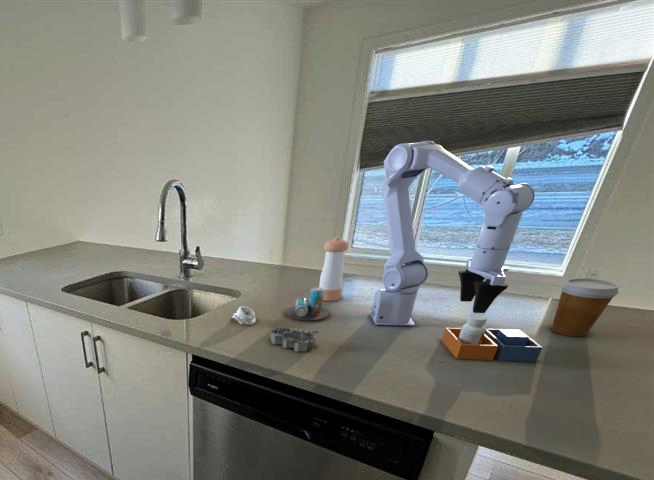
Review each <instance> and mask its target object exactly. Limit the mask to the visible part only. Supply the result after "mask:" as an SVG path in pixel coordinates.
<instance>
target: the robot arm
mask: <svg viewBox="0 0 654 480" xmlns="http://www.w3.org/2000/svg"><path fill="white" fill-rule="evenodd" d="M383 168H384V177H383V182H382V186H381V187H382V196H383V197H382V198H383V206H384V212H385V213H384V214H385V220H386V221H385V222H386V228H387V236H388V243H389V244H388V245H389V252H390V256H389V258H388V259H387V260H386V262H385V263H384V265H383V269H384V272H383V275H382V284H383V286H384V288H382V289H377V290H376V292H375V295H374V299H373V304H372V307H371V308H372V309H371V313H370V317H371V319H372V321H373V322H374V324H375V325H376V326H402V327H403V326H406V327H407V326H408V327H415V322H414V321H413V319H412V318H411V317H412V314H413V311H414V307H415V303H416V299H417V295H418V291H419V290H420V288H421V285H423V284H424V283H425V282H427V279H428V278H429V274H430V273H429V272H430V271H429V268H428V266H427V265H426V263H425V261H424V256H423V255H422V254H421V253H419V251H417V249H416V242H415V233H414V226H413V217H412V216H413V215H412V209H411V199H410V191H409V188H410V187H411V185H412V184H413V183H414V181H415V180H416V179H417V178H419V176H421V175H422V174H423V173H424V172H425V171H426V170H428V169H430V170H432V171H434V172H436V173H438V174H440V175H442V176H444V177H446V178H448V179H450V180H452V181H453V182H456V184H457V183H458V191H459V193H461V194H462V195H464V196H466V197H467V198H468V199H470V200H472V201H473V202H475V203H476V204H479V205H480V206H481V207H482V210H483V213H484V220H483V225H482V228H481V231H480V233H479V237H478V239H477V244H476V246H475V249H474V251H473V255H472V258H468V259H467V260H466V264H465V268H466V269H460V270H458V276H459V281H460V295H459V296H460V297H459V299H460V300H459V301H460V302H461V303H462V302H463V303H464V302H465V303H467V302H469V303H471V302H473V306H472V313H473V314H485V313H487V311H488V309H489V308H490V306H491V305H492V304H493V302H495V300H496V299H497V298H498V296H500V294H502V293H503V292H504V291H506V290H507V289H508V287H509V284H508V283H506V278H507V276H506V275H505V274H504V272H508V271H509V267H508V266H506V265H505V262H506V259H507V257H508V254H509V251H510V249H511V246H512V244H513V240H514V238H515V236H516V233H517V230H518V227H519V223H520V220H521V219H522V216H523V214H524V212H525V211H527V210H528V209H529V208H530V207H531V206H532V204H533V202H534V201H535V191H534V189H533V188H532V187H531V186H530V184H529V183H527V182H520V183H515V184H514V181H515V180H514V179H513V178H511V177H507V178H506V177H504V176H502V175H501V174H498V173H497V172H495V171H494V170H495V167H494V166H492V165H486V166H484V165H479V166H476V167H474V168H473V167H471V166H470V165H468V163H466V162H464V161H462V159H460V158H458V157H456V156H455V155H454V154H452V153H451V152H449V151H447V150H446V149H445V148H444V147H443V146H442V145H440V144H438V143H435V142H434V141H432V140H423V141H420V142H419V141H418V142H411V143H399V144H396V145H395V146H394V147H392V149H391V150H390V151H389V153H388V154H387V156H386V157H385V159H384V160H383ZM473 300H474V301H473Z"/></svg>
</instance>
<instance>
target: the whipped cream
mask: <svg viewBox="0 0 654 480" xmlns="http://www.w3.org/2000/svg"><path fill="white" fill-rule="evenodd" d="M233 321H237V322H238V323H239V324H240V325H243V324H245V325H247V326H251V325H254V324H255V323H256V314H255V312H254V310H253V309H252V308H250V307H248V306H245V305H243V306H239V307H238V309H237V310H236V312H234V313H233V315H232V317H231V319H230V322H233Z"/></svg>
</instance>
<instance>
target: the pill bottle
mask: <svg viewBox="0 0 654 480" xmlns="http://www.w3.org/2000/svg"><path fill="white" fill-rule="evenodd" d="M487 321H488V317H487V316H485V315H483V314H469V315H468V316H467V318H466V323H464V324H463V325H462V326H461V328H462V329H461V332H460V335H459V337H458V339H459V340H460V342H461V343H462V344H476V345H481V342H482V339H483V337H484V334H485V331H486V329H487V328H486V326H485V325H486V324H487Z"/></svg>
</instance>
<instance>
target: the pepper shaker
mask: <svg viewBox="0 0 654 480" xmlns="http://www.w3.org/2000/svg"><path fill="white" fill-rule="evenodd" d="M349 248H350V244H349V242H348V241H347V240H345V239H341V237H339V236H336V237H334V238H333V239H330V240H328V241H326V242H325V244H324V245H323V249H324V251H325V256H324V263H323V267H322V270H321V273H320V278H319V285H318V286H317V287H321V288H323V291H324V294H323V301H325V302H335V301H339V300H340V299H341V297H342V291H343V286H342V284H343V278H344V261H345V254H346V251H348V249H349Z"/></svg>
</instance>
